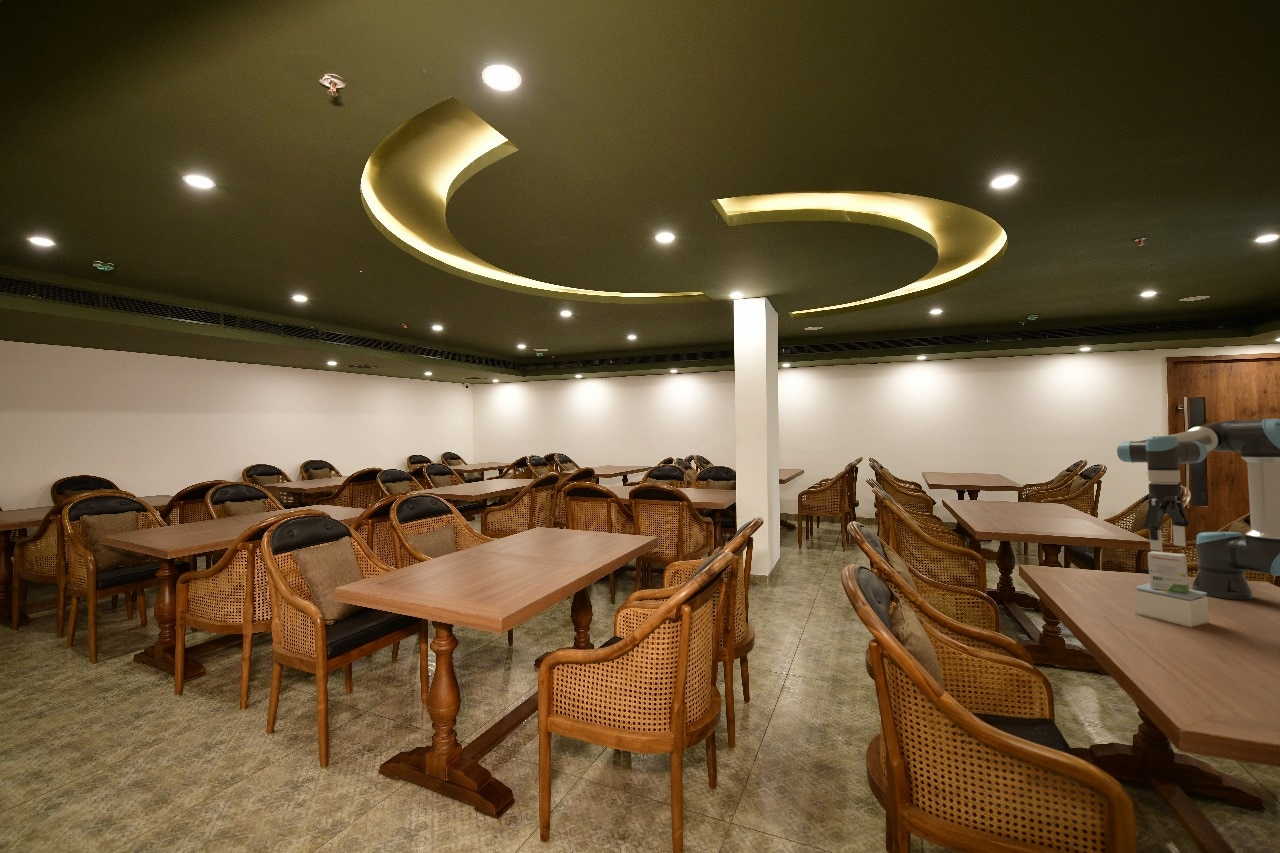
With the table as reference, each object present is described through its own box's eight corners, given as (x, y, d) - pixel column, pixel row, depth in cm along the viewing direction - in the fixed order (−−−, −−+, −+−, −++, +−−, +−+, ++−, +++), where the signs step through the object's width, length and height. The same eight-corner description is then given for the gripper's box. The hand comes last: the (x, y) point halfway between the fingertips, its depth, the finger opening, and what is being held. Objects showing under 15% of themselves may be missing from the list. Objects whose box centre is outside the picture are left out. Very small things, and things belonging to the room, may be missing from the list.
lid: (1151, 583, 180) (1151, 581, 180) (1207, 594, 167) (1206, 592, 167) (1134, 588, 176) (1133, 586, 176) (1189, 600, 163) (1189, 598, 163)
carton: (1152, 610, 180) (1151, 586, 180) (1208, 622, 167) (1207, 597, 167) (1135, 614, 176) (1134, 589, 176) (1191, 627, 163) (1190, 601, 163)
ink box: (1189, 590, 170) (1186, 553, 170) (1186, 593, 167) (1183, 556, 167) (1153, 585, 177) (1150, 550, 177) (1150, 588, 174) (1147, 552, 174)
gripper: (1170, 480, 181) (1174, 542, 180) (1127, 484, 172) (1131, 549, 171) (1200, 481, 174) (1204, 545, 173) (1157, 486, 165) (1161, 554, 164)
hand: (1168, 548), depth 172 cm, fingers open, 13 cm apart
